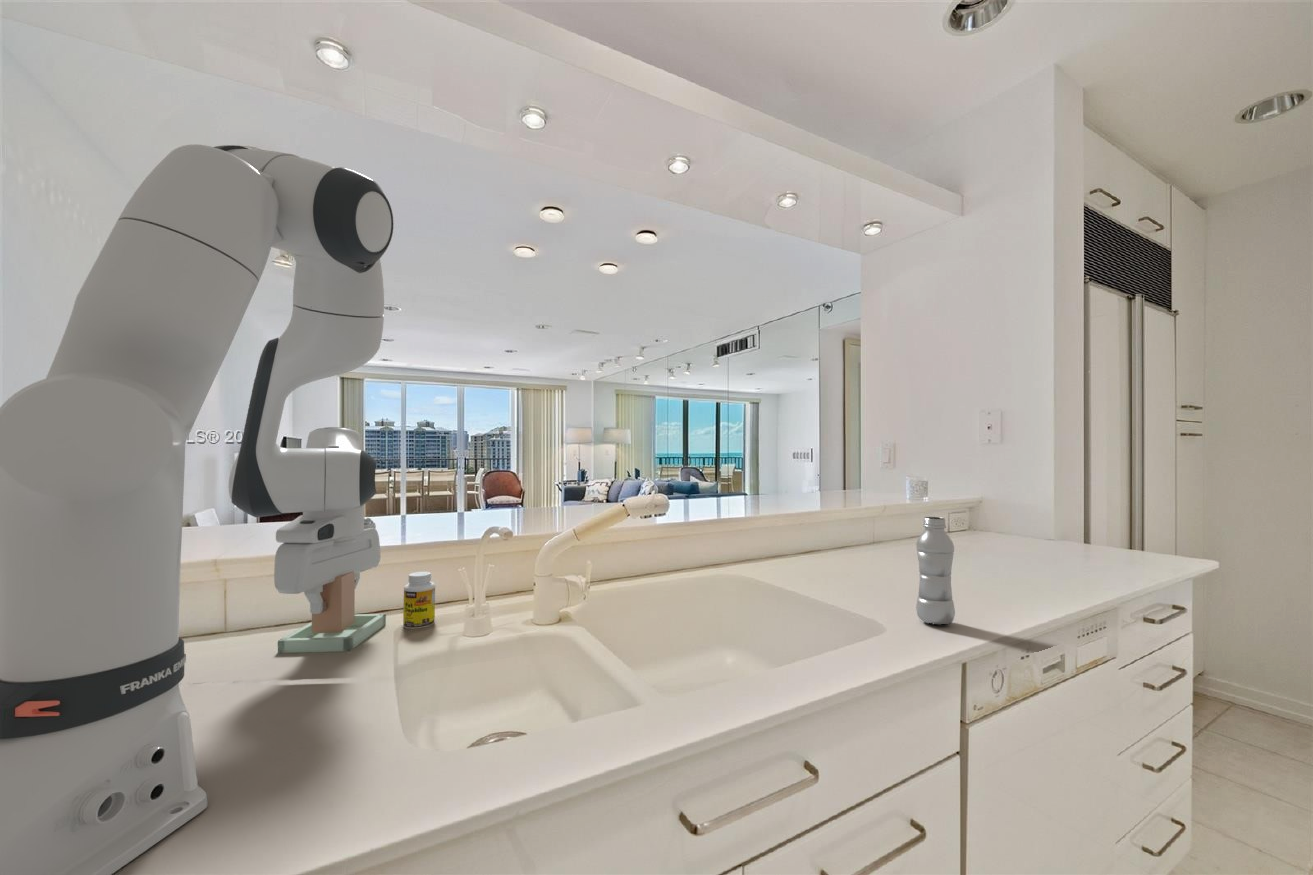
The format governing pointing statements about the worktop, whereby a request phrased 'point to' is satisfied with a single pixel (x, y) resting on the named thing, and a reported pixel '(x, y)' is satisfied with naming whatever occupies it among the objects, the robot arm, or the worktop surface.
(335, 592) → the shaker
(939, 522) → the plastic bottle
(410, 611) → the supplement bottle
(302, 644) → the tray
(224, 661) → the worktop surface
